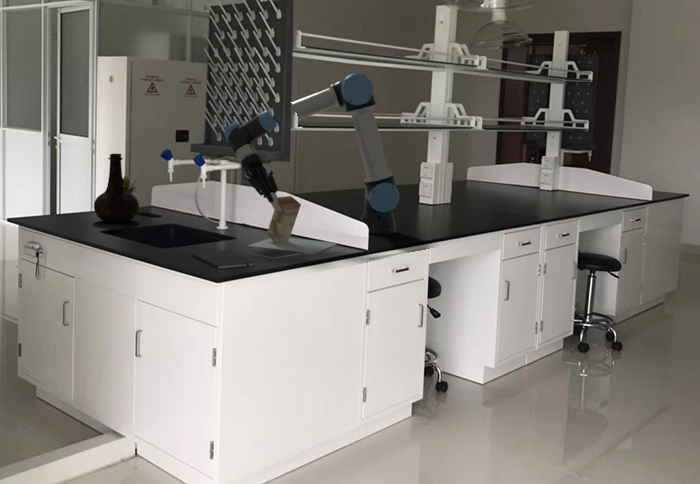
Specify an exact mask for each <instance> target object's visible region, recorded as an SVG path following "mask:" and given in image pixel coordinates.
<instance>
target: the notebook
mask: <svg viewBox="0 0 700 484" xmlns="http://www.w3.org/2000/svg"><path fill="white" fill-rule="evenodd" d="M191 257H192V258H195V259H196V260H199V261H201V262H203V263H204V264H207V265H209V266H211V267H213V268H215V269H217V270H221V268H222V269H229V268H231V267H232V268H241V267H242V266H243V267H250V266H251V267H252V266H254V261H252V260H250V259H248V258H246V257H243V256H241V255H238V254H236V253H234V252H232V251H229V250H216V251H215V250H214V251H204V252H203V251H201V252H192V253H191Z"/></svg>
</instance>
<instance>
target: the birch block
mask: <svg viewBox="0 0 700 484" xmlns="http://www.w3.org/2000/svg"><path fill="white" fill-rule="evenodd" d="M301 207H302V204H301V203H300V202H299V201H298V200H297V199H295V198H294V197H292V195H289V196H288V195H287V196H278V201H277V204H276V207H275V210H273V214H272V217H271V220H270V223H269V226H268V229H267V231H266V236H267V237H268V239H269V238H271V239H272V240H273V241H274V242H275V243H283V242H288V241H289V238H291V235H292V232H293V229H294V226H295V223H296V220H297V218H298V215H299V211H300V209H301Z"/></svg>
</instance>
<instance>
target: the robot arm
mask: <svg viewBox="0 0 700 484" xmlns="http://www.w3.org/2000/svg"><path fill="white" fill-rule="evenodd" d="M291 103H292V111H293V113H294V114H295V112H296V113H297V116H298V121H301V120H303V119H306V118H308V117H311V116H314V115H316V114H319V113H321V112H324V111H327V110H330V109H332V108H336V107H337V108H342V107H344V108H345V111H346V113H347V114H349V116H351V119H352V123H353V127H354V131H355V135H356V138H357V142H358V147H359V150H360V151H359V152H360V154H361V155H360V156H361V158H362V163H363V167H364V170H365V175H366V177H365V179H364V181H363V182H364V186H365V187H364V206H363V207H364V209H363V210H364V211H363V214H362V217H361V220H360V222H364V223H365V224H367V225H368V227H369V230H370V234H371V235H393V234H395V233H396V232H397V226H396V223H395V218H394V214H393V211H394V210H395V208H396V207H397V206H398V204H399V202H400V197H401V196H400V192H399V189H398V188H397V185H396V181H395V177H394V173H392V172H391V171H389V168H388V165H387V161H386V158H385V157H386V156H385V153H384V148H383V145H382V140H381V137H380V132H379V128H378V125H377V120H376V116H375V112H374V110H375V107H376V106H377V102H376V99H375V96H374V84H373V82H372V80H371V79H370V77H368V76H367V75H366V74H364V73H361V72H354V73H351V74H348V75H346V76H344V77H343V78H342V79H340V80H339V81H337V82H334V83H332V84H330V85H329V87H328V88H325V89H323V90H321V91H318V92H316V93H315V92H314V93H313V94H312V93H311V94H310V95H306V96H304V97H302V98H300V99H297V100H295V101H292V102H291ZM269 111H270V110H269ZM269 111H268V110H264V111H262V112H260V113H259V114H257V115H255V116H254V117H253V118H251V119H250V120H248V121H247V122H246V123H243V124H240V123H238V122H234V123H232V124H229V125H228V126H227V127H225V129H224V132H223V135H224V137H225V139H226V141H227V143H228V145H229V146H230V148H231V149H232V151H233V153H234V155H235V157H236V158H237V160H238V161H239V163H240V165H241V167H242V169H243V170H244V172H245V174H244V176H243V178H244V179H245V180H246V181H247V182H248V183H250V185H251V186H252V187H253V189H254V190H255V191H256V192H257V193H258V195H259V196H261V197H263V199H267V201H268V203H270V205H271V206H272V208H273V209H274V210H275V207H276V204H277V201H278V198H279V196H277V194H276V193H277V192H278V190H279V189H278V185H277V183H276V181H275V177H274V171H273V170H270V171H268V170H267V169H266V167H264V164H263V163H264V162H263V160H262V158H261V157H260V155H259V154H258V151H257V149H256V148H255V147H254V145H253V143H254V142H255V141H257V140H258V139H260V138H261V137H263V136H264V135H266V134H268V133H270V132H272V131H273V130H272V129H274V128H275V127H276V126H277V124H276V122H275V120H274V119H273V117H272V116H271V114H270V113H269ZM271 130H272V131H271ZM274 210H273V211H274Z"/></svg>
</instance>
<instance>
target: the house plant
mask: <svg viewBox="0 0 700 484" xmlns="http://www.w3.org/2000/svg"><path fill="white" fill-rule="evenodd" d="M122 180H123V186H124V189H125V191H126V192H127V193H130V194H132V195H133V193H135V192H136V191H137V189H136V187H137V188H138V186H137V185H134V184H135V183H136V182H137V181H138V179H135V180H134V181H133V182H132V184H131V185H130V178H129V175H126V174H125V175H124V176H122Z"/></svg>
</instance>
